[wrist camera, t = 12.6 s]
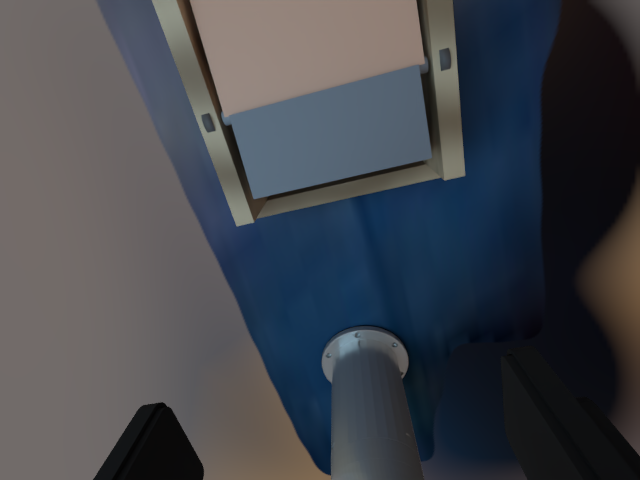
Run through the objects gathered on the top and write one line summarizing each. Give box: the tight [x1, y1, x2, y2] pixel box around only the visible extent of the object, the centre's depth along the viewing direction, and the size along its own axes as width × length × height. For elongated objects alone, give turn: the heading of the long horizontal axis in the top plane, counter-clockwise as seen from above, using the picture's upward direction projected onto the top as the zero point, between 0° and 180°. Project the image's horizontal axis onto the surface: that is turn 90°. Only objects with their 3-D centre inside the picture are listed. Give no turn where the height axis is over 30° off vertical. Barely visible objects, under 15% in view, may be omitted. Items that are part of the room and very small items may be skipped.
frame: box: [152, 0, 465, 226], centre depth 28 cm, size 25×18×14 cm
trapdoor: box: [190, 0, 432, 199], centre depth 24 cm, size 18×14×4 cm
